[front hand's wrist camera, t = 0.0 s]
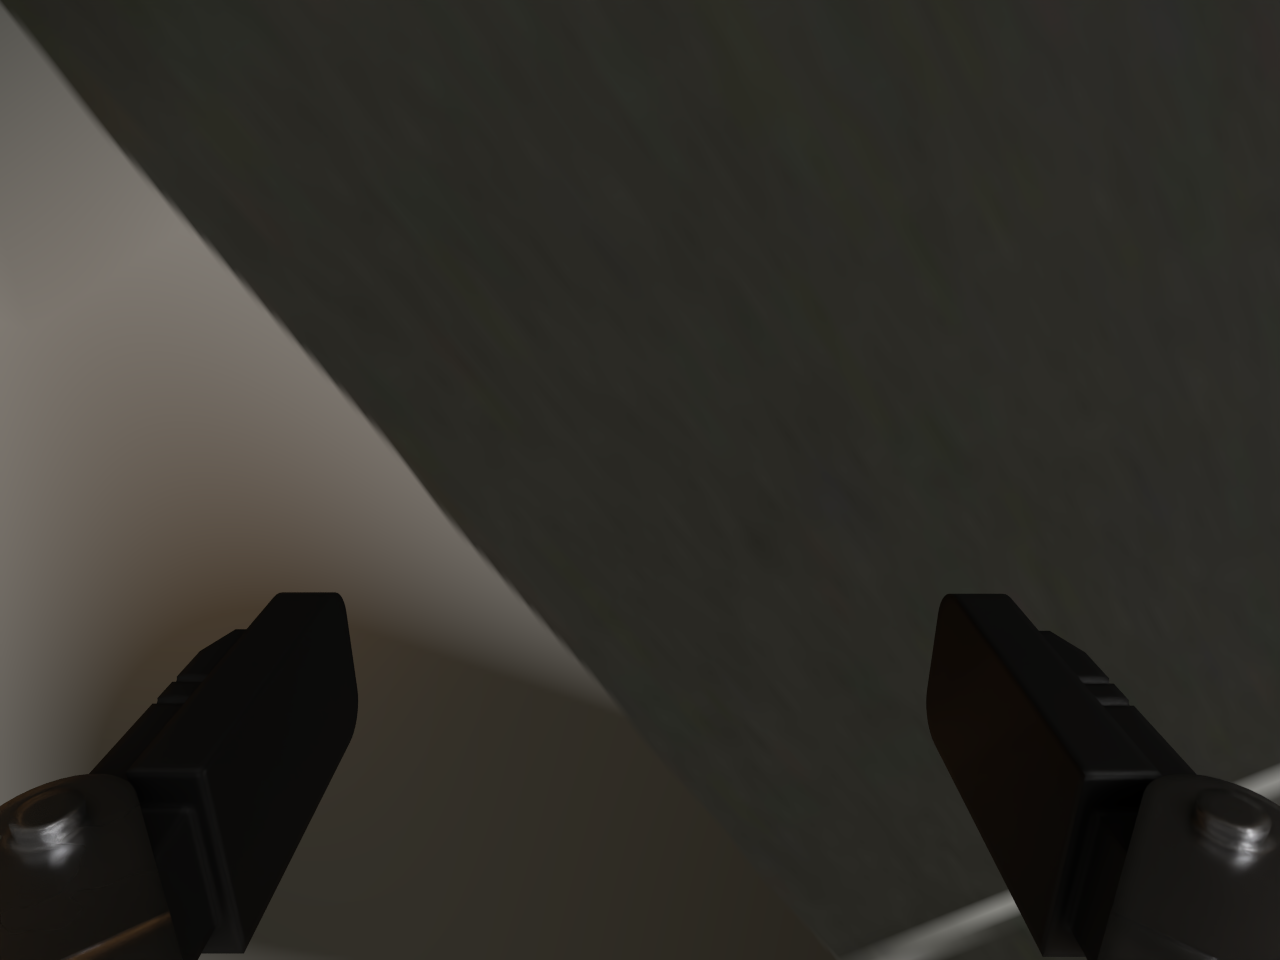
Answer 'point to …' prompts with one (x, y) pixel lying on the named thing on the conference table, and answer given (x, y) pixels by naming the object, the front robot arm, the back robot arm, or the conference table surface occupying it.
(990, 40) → the conference table surface
